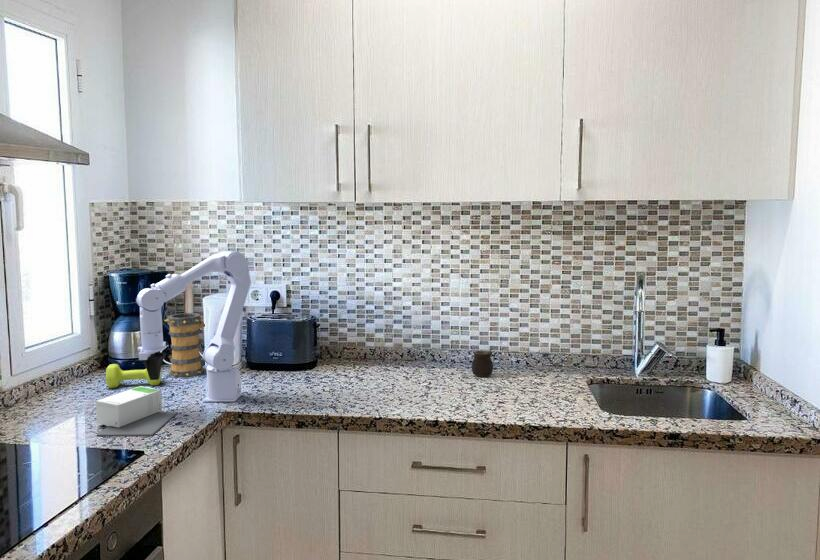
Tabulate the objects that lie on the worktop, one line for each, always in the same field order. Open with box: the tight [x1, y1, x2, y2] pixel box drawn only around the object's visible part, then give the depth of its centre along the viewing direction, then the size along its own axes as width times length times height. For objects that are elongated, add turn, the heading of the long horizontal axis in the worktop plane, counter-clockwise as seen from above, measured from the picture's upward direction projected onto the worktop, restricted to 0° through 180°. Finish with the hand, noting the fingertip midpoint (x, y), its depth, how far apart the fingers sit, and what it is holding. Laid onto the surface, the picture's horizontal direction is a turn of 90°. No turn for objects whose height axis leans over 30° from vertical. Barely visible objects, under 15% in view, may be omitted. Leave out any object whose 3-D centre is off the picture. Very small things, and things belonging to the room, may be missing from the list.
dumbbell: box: [105, 363, 163, 389], centre depth 220 cm, size 16×8×7 cm, turn 102°
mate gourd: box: [471, 347, 494, 378], centre depth 227 cm, size 7×8×10 cm
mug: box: [163, 312, 206, 379], centre depth 234 cm, size 13×17×20 cm
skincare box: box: [95, 385, 163, 428], centre depth 187 cm, size 8×7×16 cm
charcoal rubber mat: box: [96, 411, 178, 437], centre depth 183 cm, size 14×18×1 cm
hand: (154, 379), depth 194 cm, fingers closed
